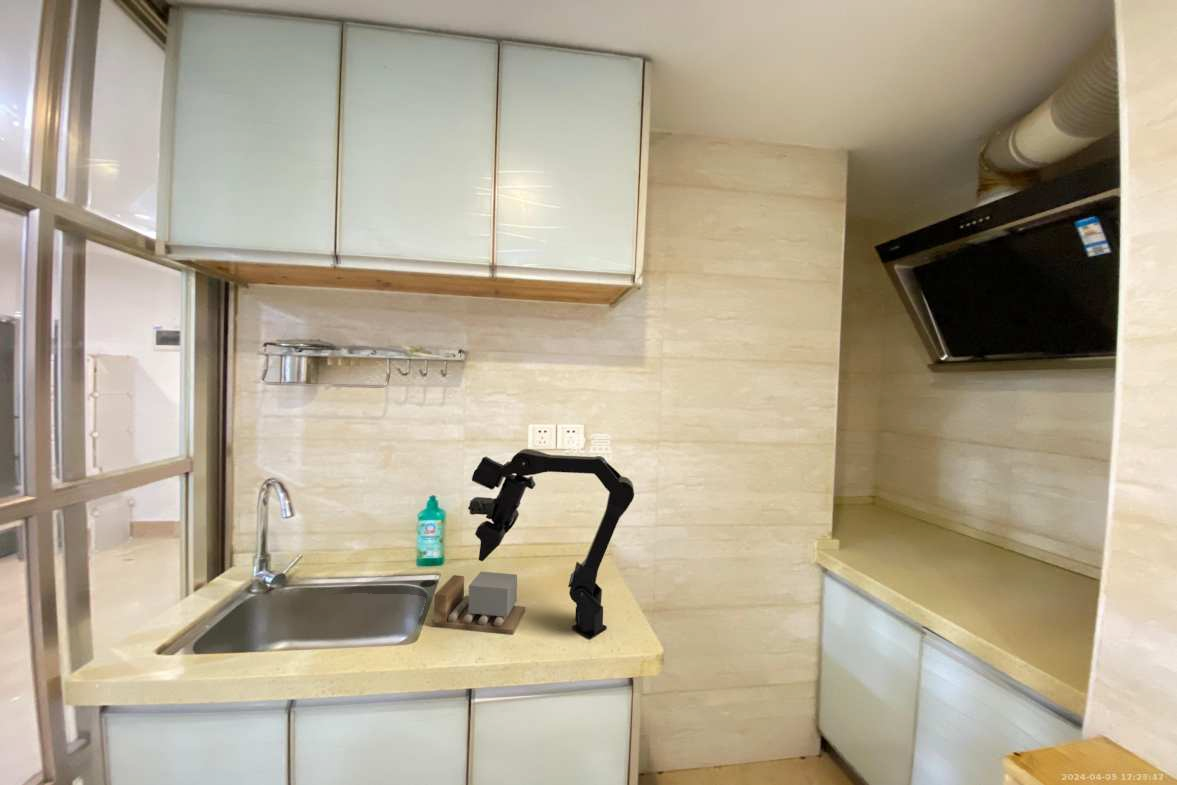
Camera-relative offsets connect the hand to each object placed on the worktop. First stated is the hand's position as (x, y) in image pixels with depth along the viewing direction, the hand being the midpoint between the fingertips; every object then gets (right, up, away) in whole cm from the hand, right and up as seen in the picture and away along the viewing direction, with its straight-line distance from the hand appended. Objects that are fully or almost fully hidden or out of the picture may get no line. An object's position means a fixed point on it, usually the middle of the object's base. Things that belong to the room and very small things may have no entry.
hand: (486, 553), depth 111 cm
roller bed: (-2, -18, +3) cm, 18 cm away
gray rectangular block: (+1, -15, +2) cm, 15 cm away
